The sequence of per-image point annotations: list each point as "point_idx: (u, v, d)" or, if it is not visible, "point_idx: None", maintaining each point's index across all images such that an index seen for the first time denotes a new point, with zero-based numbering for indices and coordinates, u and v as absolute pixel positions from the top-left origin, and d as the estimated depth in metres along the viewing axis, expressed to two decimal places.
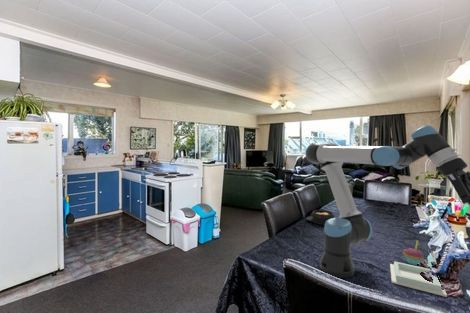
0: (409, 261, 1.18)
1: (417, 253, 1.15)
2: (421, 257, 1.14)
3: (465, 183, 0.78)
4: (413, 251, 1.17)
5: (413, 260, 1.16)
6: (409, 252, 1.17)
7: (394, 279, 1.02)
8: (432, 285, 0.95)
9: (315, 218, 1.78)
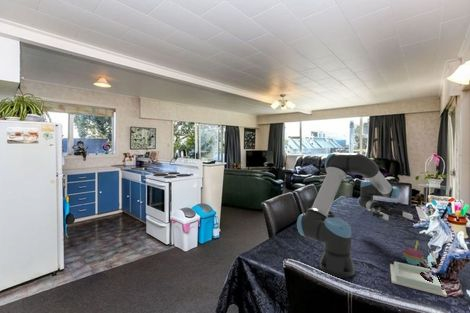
0: (409, 261, 1.18)
1: (417, 253, 1.15)
2: (421, 257, 1.14)
3: None
4: (413, 251, 1.17)
5: (413, 260, 1.16)
6: (409, 252, 1.17)
7: (394, 279, 1.02)
8: (432, 285, 0.95)
9: None
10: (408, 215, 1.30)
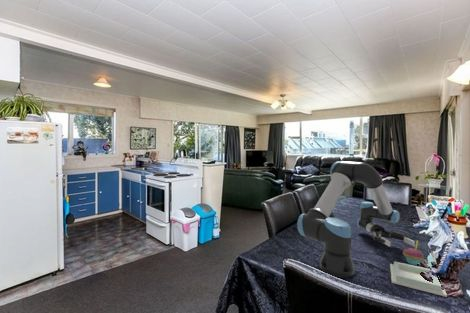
0: (409, 261, 1.18)
1: (417, 253, 1.15)
2: (421, 257, 1.14)
3: None
4: (413, 251, 1.17)
5: (413, 260, 1.16)
6: (409, 252, 1.17)
7: (394, 279, 1.02)
8: (432, 285, 0.95)
9: None
10: (409, 241, 1.29)
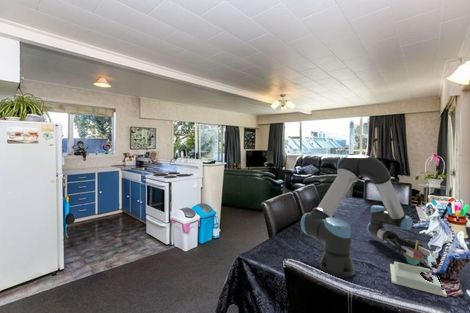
0: (409, 261, 1.18)
1: (417, 253, 1.15)
2: (421, 257, 1.14)
3: None
4: (413, 251, 1.17)
5: (413, 260, 1.16)
6: None
7: (394, 279, 1.02)
8: (432, 285, 0.95)
9: None
10: (425, 251, 1.16)
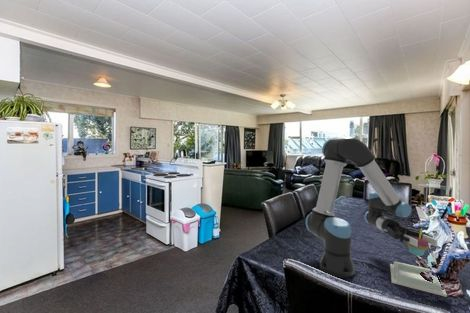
0: (412, 251, 1.03)
1: (421, 242, 1.01)
2: (426, 246, 1.00)
3: None
4: None
5: (417, 250, 1.02)
6: None
7: (394, 279, 1.02)
8: (432, 285, 0.95)
9: None
10: (431, 240, 1.02)
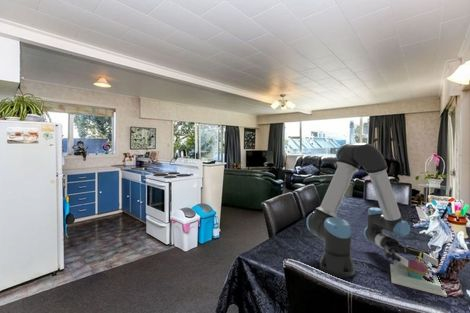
0: (411, 275, 1.03)
1: (420, 267, 1.00)
2: (425, 271, 0.99)
3: None
4: (416, 264, 1.02)
5: (415, 274, 1.01)
6: (411, 265, 1.02)
7: (394, 279, 1.02)
8: (432, 285, 0.95)
9: None
10: (431, 259, 1.02)
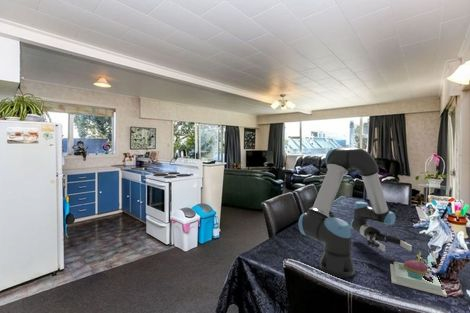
0: (411, 275, 1.03)
1: (420, 266, 1.01)
2: (424, 271, 1.00)
3: None
4: (415, 264, 1.02)
5: (415, 274, 1.01)
6: (411, 265, 1.02)
7: (394, 279, 1.02)
8: (432, 285, 0.95)
9: None
10: (406, 245, 1.17)
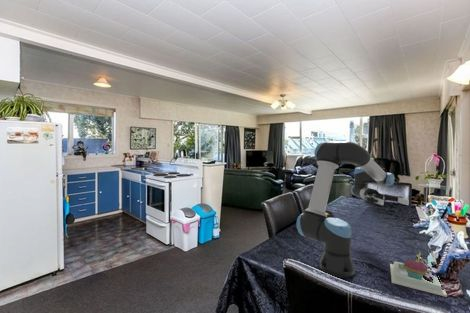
0: (411, 275, 1.03)
1: (420, 266, 1.01)
2: (424, 271, 1.00)
3: None
4: (415, 264, 1.02)
5: (415, 274, 1.01)
6: (411, 265, 1.02)
7: (394, 279, 1.02)
8: (432, 285, 0.95)
9: None
10: (404, 200, 1.24)
